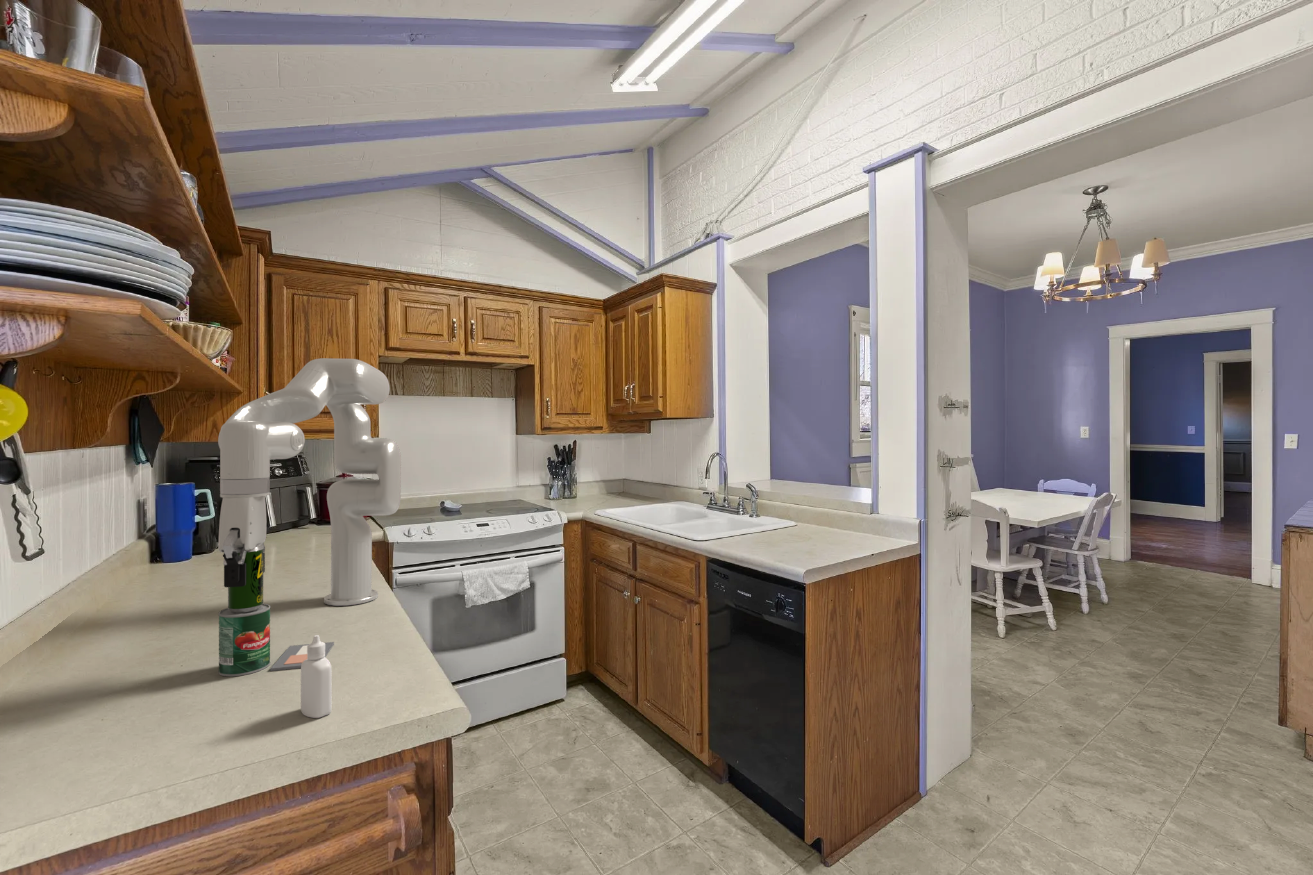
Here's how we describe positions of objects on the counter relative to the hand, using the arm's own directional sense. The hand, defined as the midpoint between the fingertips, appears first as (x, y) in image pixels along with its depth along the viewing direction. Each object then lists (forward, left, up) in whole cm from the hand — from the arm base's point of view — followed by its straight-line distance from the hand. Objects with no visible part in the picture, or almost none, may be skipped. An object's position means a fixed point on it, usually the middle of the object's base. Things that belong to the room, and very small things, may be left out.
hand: (245, 579), depth 108 cm
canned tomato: (0, 0, -17) cm, 17 cm away
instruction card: (-3, +9, -16) cm, 19 cm away
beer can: (0, 0, -6) cm, 6 cm away
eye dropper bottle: (+23, +17, -17) cm, 33 cm away
